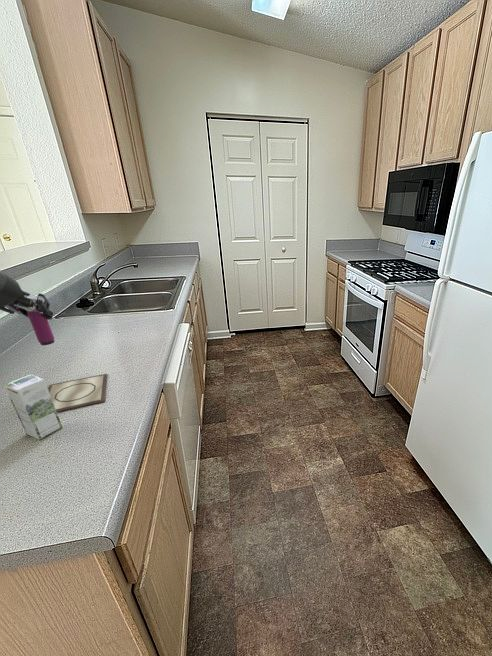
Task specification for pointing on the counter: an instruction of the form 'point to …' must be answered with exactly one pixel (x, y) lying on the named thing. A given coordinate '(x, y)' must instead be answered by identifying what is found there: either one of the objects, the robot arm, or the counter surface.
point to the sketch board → (78, 392)
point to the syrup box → (33, 406)
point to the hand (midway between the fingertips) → (43, 316)
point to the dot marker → (41, 328)
